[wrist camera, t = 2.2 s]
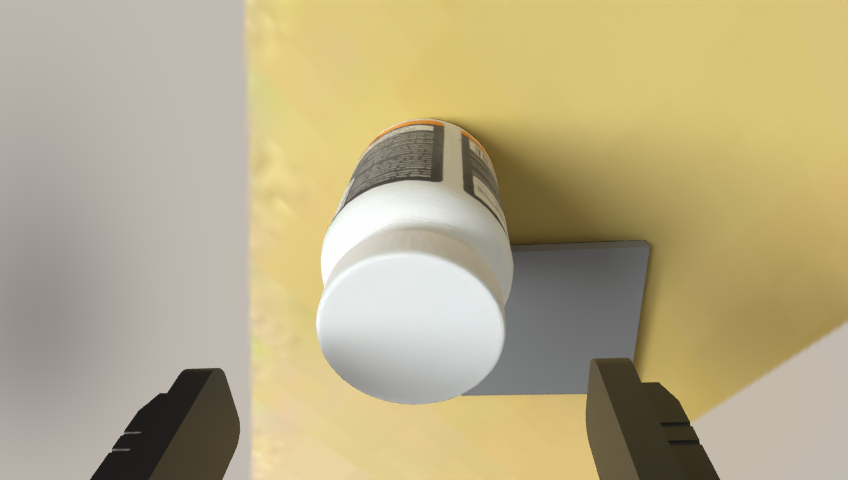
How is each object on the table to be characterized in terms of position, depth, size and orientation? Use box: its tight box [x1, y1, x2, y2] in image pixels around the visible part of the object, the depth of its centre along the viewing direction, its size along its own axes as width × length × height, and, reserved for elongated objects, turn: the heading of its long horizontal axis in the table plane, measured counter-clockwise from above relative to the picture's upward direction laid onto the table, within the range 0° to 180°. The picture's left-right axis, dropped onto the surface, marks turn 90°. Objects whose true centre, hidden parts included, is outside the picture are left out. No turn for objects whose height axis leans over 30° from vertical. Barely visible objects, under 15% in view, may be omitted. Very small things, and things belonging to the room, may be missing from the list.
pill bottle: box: [316, 118, 514, 405], centre depth 17 cm, size 6×6×10 cm
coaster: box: [461, 240, 650, 396], centre depth 24 cm, size 8×8×1 cm
